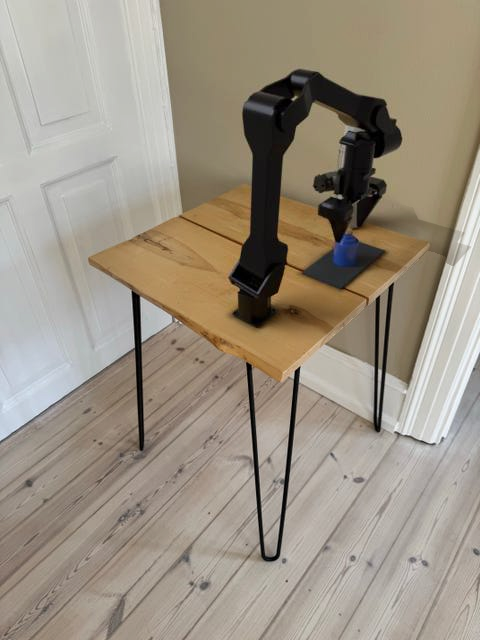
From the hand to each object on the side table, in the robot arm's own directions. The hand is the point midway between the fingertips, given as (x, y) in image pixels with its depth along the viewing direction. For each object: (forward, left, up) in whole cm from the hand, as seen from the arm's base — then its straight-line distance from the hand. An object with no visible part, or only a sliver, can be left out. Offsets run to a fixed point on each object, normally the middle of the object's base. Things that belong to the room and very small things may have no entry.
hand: (348, 234), depth 102 cm
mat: (0, 0, -7) cm, 7 cm away
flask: (0, 0, -7) cm, 7 cm away
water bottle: (+17, +10, -8) cm, 21 cm away
